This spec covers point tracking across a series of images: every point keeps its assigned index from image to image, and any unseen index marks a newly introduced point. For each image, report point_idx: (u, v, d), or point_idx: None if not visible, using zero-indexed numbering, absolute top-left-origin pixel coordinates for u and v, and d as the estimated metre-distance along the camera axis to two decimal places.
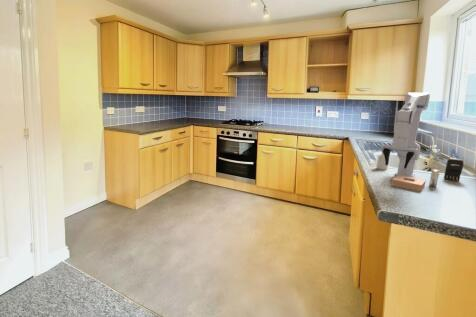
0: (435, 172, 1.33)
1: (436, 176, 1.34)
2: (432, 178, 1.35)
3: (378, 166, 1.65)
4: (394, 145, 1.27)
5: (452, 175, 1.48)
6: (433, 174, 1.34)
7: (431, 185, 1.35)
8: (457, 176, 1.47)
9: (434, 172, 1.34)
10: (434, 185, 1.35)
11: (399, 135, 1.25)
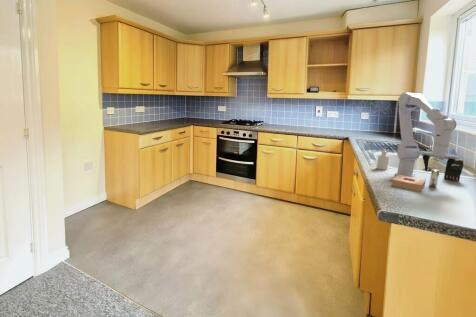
0: (435, 172, 1.33)
1: (436, 176, 1.34)
2: (432, 178, 1.35)
3: (378, 166, 1.65)
4: (435, 152, 1.32)
5: (452, 175, 1.48)
6: (433, 174, 1.34)
7: (431, 185, 1.35)
8: (457, 176, 1.47)
9: (434, 172, 1.34)
10: (434, 185, 1.35)
11: (446, 143, 1.29)
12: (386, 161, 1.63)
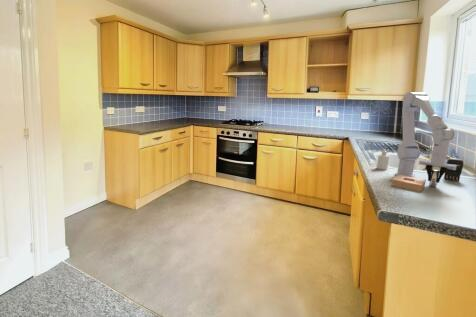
0: (435, 172, 1.33)
1: (436, 176, 1.34)
2: (432, 178, 1.35)
3: (378, 166, 1.65)
4: (433, 161, 1.33)
5: (452, 175, 1.48)
6: (433, 174, 1.34)
7: (431, 185, 1.35)
8: (457, 176, 1.47)
9: (434, 172, 1.34)
10: (434, 185, 1.35)
11: (444, 153, 1.30)
12: (386, 161, 1.63)
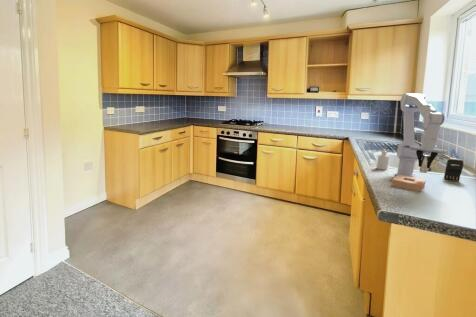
0: (426, 157, 1.32)
1: (427, 161, 1.32)
2: (423, 164, 1.33)
3: (378, 166, 1.65)
4: (423, 146, 1.31)
5: (452, 175, 1.48)
6: (424, 159, 1.32)
7: (422, 171, 1.33)
8: (457, 176, 1.47)
9: (425, 157, 1.32)
10: (425, 170, 1.33)
11: (432, 137, 1.28)
12: (386, 161, 1.63)
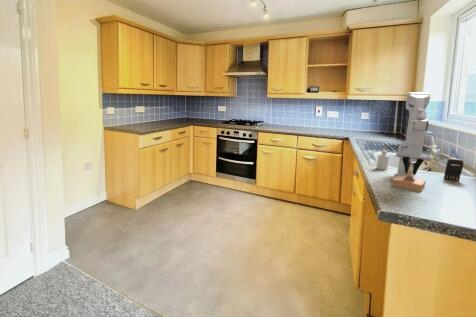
0: (411, 164, 1.32)
1: (412, 168, 1.32)
2: (409, 170, 1.33)
3: (378, 166, 1.65)
4: (409, 153, 1.31)
5: (452, 175, 1.48)
6: (409, 166, 1.33)
7: (408, 177, 1.34)
8: (457, 176, 1.47)
9: (410, 164, 1.32)
10: (411, 177, 1.33)
11: (416, 144, 1.29)
12: (386, 161, 1.63)
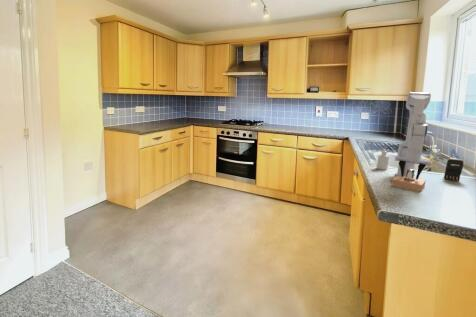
0: (410, 171, 1.33)
1: (411, 175, 1.33)
2: (407, 177, 1.34)
3: (378, 166, 1.65)
4: (408, 157, 1.32)
5: (452, 175, 1.48)
6: (408, 173, 1.34)
7: None
8: (457, 176, 1.47)
9: (409, 171, 1.33)
10: None
11: (415, 148, 1.29)
12: (386, 161, 1.63)
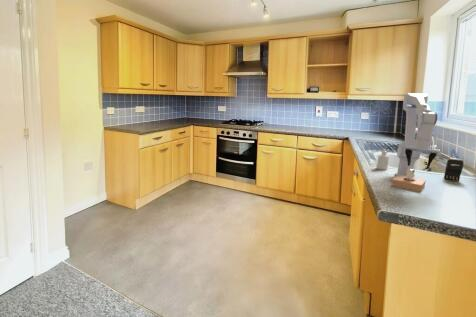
0: (410, 171, 1.33)
1: (411, 175, 1.33)
2: (407, 177, 1.34)
3: (378, 166, 1.65)
4: (417, 146, 1.31)
5: (452, 175, 1.48)
6: (408, 173, 1.34)
7: None
8: (457, 176, 1.47)
9: (409, 171, 1.33)
10: None
11: (425, 137, 1.28)
12: (386, 161, 1.63)
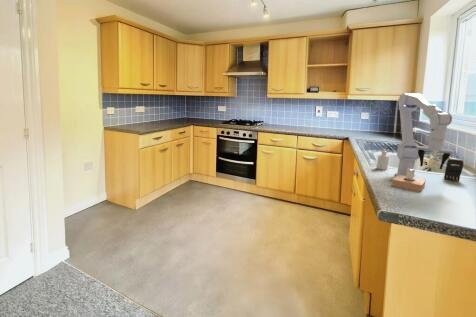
0: (410, 171, 1.33)
1: (411, 175, 1.33)
2: (407, 177, 1.34)
3: (378, 166, 1.65)
4: (430, 147, 1.31)
5: (452, 175, 1.48)
6: (408, 173, 1.34)
7: None
8: (457, 176, 1.47)
9: (409, 171, 1.33)
10: None
11: (441, 137, 1.28)
12: (386, 161, 1.63)
